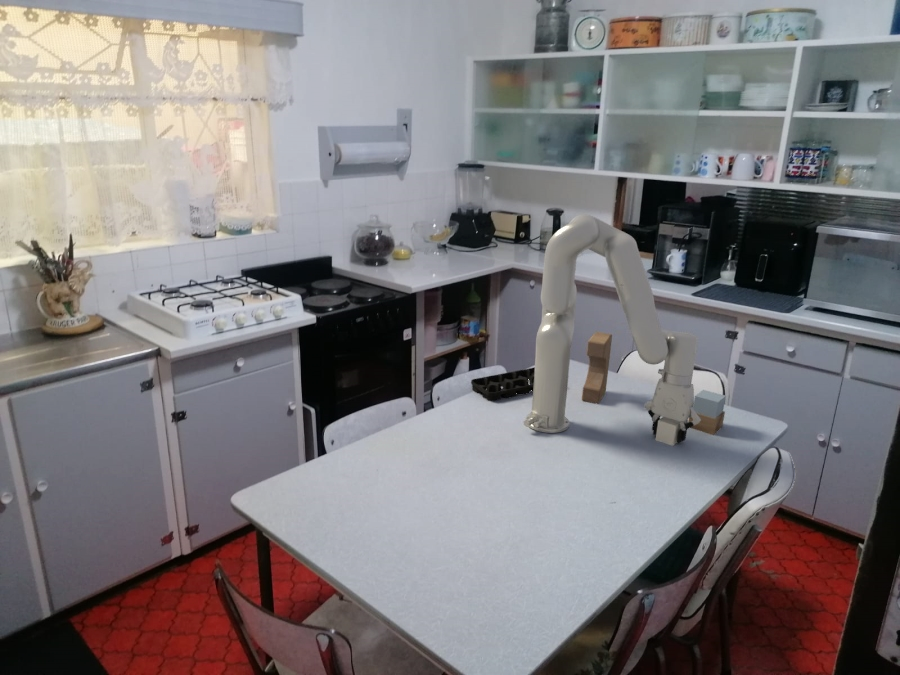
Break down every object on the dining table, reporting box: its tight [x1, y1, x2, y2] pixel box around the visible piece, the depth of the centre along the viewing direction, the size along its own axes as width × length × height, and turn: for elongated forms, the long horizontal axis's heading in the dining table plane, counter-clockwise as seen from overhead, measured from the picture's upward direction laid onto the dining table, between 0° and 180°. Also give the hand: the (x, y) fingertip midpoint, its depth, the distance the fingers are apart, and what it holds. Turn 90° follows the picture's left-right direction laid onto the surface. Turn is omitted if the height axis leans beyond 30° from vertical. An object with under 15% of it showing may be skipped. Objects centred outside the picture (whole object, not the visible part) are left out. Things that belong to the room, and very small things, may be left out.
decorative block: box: [581, 331, 613, 405], centre depth 206 cm, size 11×6×20 cm, turn 155°
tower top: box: [693, 389, 726, 418], centre depth 188 cm, size 6×6×5 cm
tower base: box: [688, 410, 726, 436], centre depth 189 cm, size 8×8×5 cm
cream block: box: [655, 416, 681, 447], centre depth 180 cm, size 5×5×6 cm
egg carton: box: [470, 366, 535, 402], centre depth 213 cm, size 18×30×4 cm, turn 132°
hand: (668, 437), depth 181 cm, fingers open, 6 cm apart
